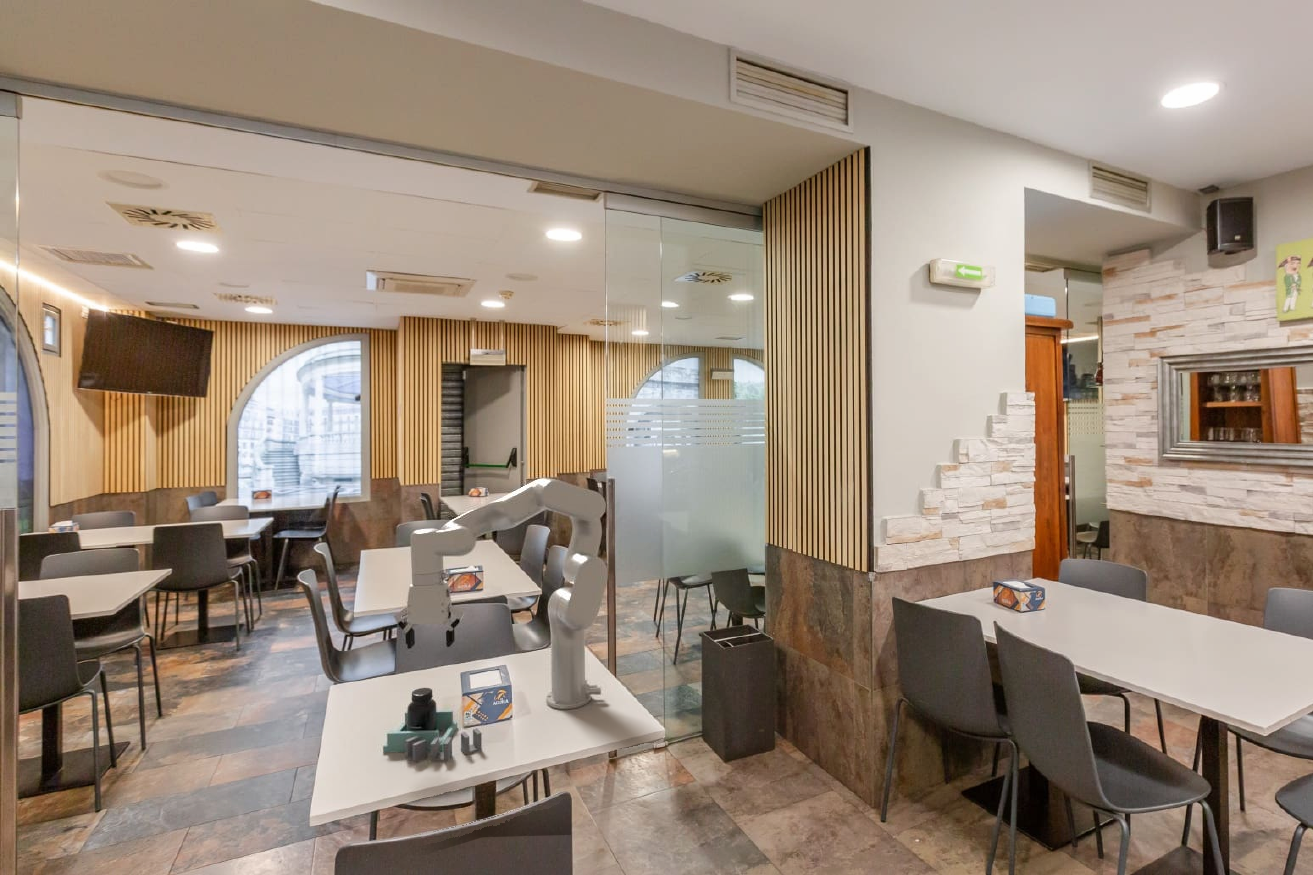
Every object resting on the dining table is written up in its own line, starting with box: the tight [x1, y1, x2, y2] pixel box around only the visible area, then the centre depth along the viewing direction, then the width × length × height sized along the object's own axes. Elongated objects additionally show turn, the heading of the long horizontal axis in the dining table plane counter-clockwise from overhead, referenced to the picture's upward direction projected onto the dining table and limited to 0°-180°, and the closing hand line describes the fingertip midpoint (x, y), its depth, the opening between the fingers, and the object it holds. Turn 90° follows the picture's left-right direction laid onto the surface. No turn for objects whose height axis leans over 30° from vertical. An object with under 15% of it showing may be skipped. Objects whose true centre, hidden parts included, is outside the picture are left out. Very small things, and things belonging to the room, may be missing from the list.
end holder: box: [382, 709, 458, 753], centre depth 154 cm, size 14×12×4 cm
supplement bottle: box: [406, 687, 437, 731], centre depth 154 cm, size 7×7×12 cm
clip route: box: [405, 727, 483, 764], centre depth 146 cm, size 17×8×4 cm, turn 91°
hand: (430, 646), depth 156 cm, fingers open, 9 cm apart
